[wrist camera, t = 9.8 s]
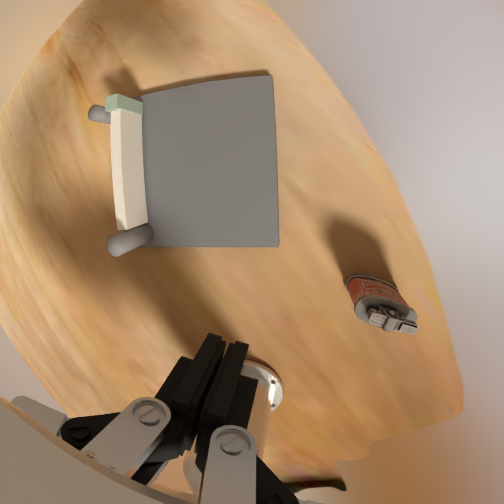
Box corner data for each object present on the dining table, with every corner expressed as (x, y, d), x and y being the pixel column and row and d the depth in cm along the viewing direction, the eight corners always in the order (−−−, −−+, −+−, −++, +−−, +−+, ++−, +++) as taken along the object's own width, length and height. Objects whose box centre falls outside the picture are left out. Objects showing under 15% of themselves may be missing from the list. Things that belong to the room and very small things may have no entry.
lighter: (341, 291, 35) (353, 331, 26) (350, 268, 34) (367, 301, 25) (391, 307, 35) (415, 347, 25) (402, 285, 34) (430, 320, 24)
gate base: (279, 244, 35) (272, 267, 26) (133, 244, 38) (95, 262, 30) (273, 79, 29) (264, 49, 21) (125, 103, 33) (86, 91, 24)
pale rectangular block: (149, 222, 35) (123, 231, 29) (137, 222, 35) (111, 232, 29) (142, 102, 31) (117, 93, 25) (131, 105, 31) (105, 97, 25)
